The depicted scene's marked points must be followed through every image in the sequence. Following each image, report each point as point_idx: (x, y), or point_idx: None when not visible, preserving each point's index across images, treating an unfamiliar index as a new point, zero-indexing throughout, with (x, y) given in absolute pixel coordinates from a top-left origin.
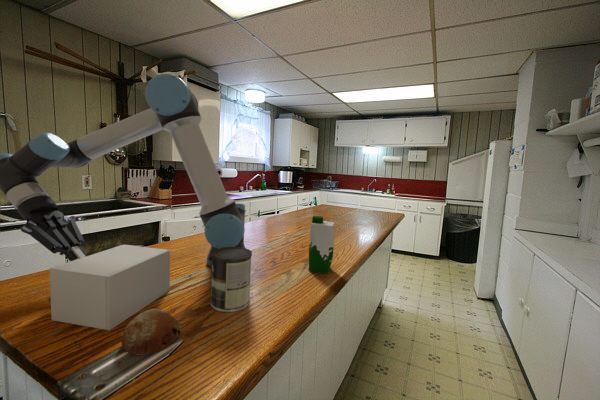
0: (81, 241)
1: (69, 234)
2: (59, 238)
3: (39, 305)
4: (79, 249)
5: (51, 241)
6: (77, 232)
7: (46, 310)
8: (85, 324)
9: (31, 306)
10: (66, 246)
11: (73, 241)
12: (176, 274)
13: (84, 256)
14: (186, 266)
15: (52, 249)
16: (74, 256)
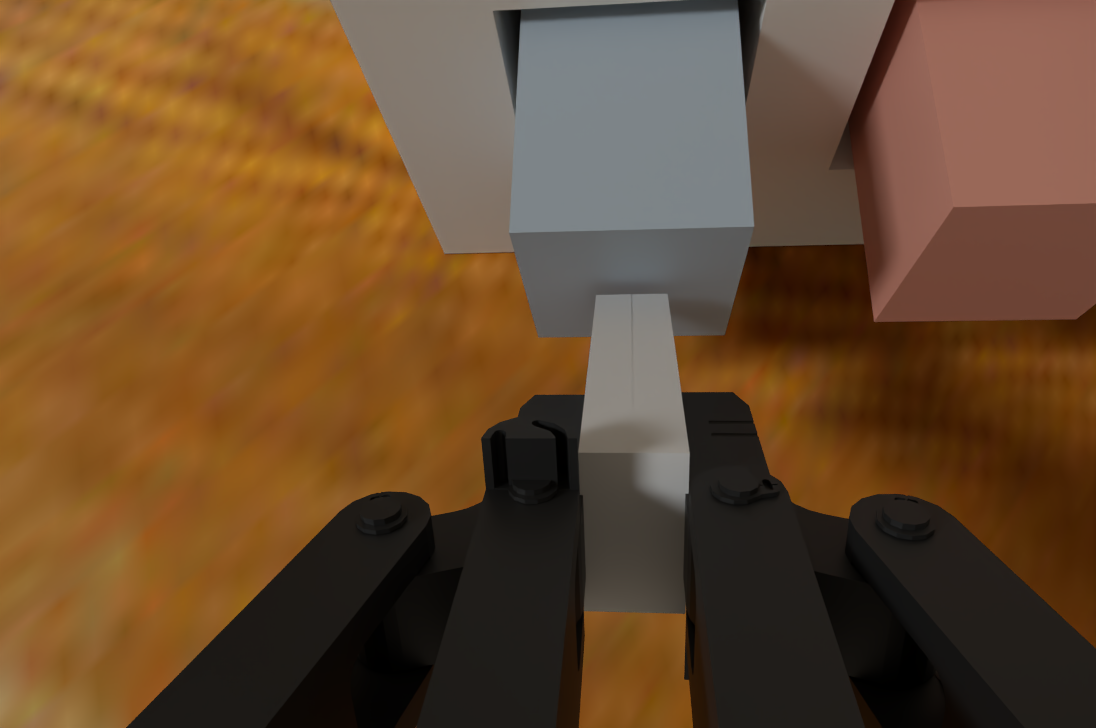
0: (413, 504)
1: (497, 700)
2: (827, 673)
3: (1002, 537)
4: (591, 411)
5: (1069, 650)
6: (241, 697)
7: (1029, 401)
8: None
9: (1045, 584)
10: (772, 487)
11: (557, 541)
12: (188, 36)
13: (609, 344)
14: (3, 67)
15: (931, 691)
16: (711, 405)
